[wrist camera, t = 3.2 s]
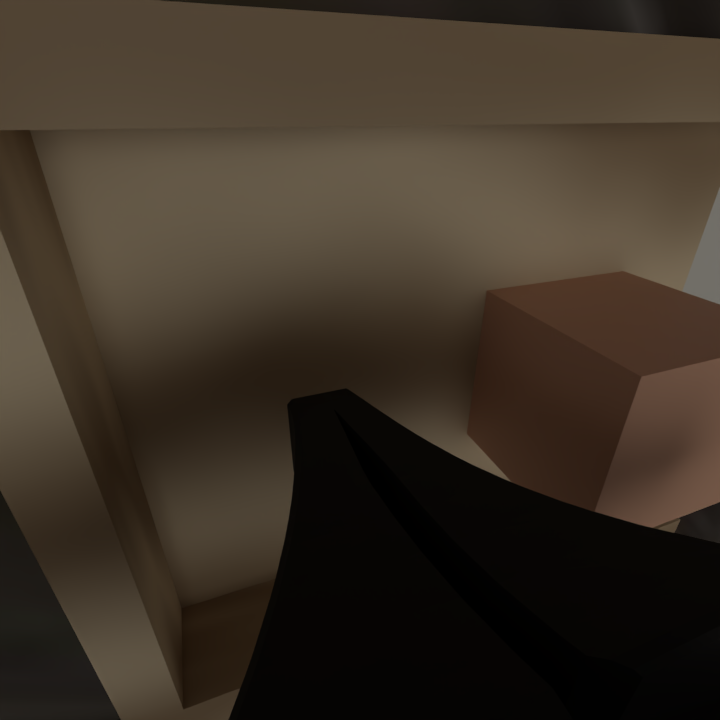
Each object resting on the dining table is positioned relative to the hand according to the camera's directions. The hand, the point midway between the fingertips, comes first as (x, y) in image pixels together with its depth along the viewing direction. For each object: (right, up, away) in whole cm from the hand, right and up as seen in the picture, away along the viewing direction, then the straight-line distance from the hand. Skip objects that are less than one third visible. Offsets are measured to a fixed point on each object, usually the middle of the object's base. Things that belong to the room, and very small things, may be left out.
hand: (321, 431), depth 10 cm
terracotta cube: (+6, +2, +3) cm, 7 cm away
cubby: (+3, +1, +2) cm, 4 cm away
